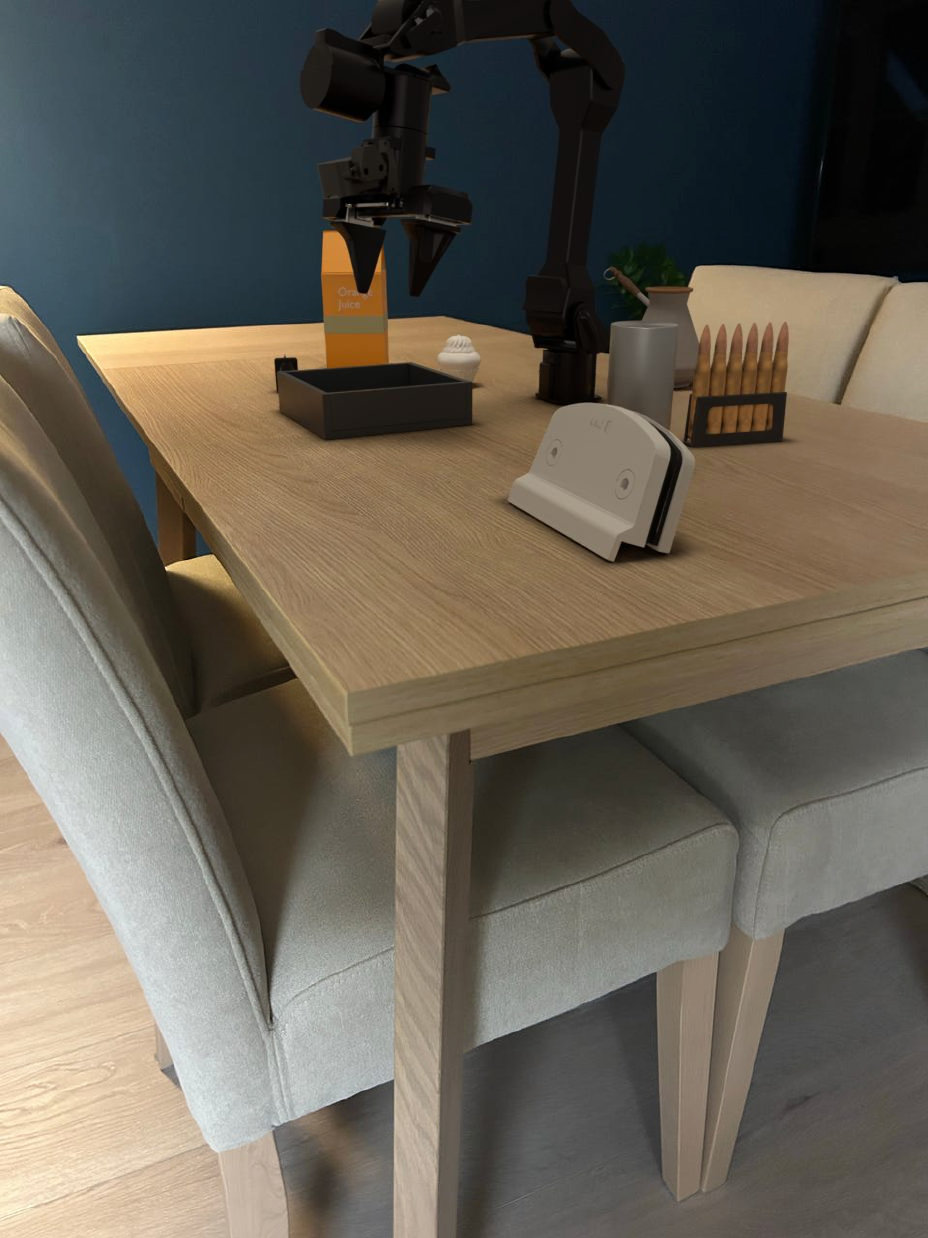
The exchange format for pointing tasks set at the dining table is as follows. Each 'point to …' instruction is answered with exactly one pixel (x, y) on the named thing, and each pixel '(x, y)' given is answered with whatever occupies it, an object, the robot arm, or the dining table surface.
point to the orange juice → (352, 309)
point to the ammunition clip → (738, 390)
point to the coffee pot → (674, 309)
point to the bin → (374, 399)
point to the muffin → (459, 358)
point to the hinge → (607, 479)
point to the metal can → (643, 368)
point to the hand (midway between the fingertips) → (387, 294)
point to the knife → (285, 365)
